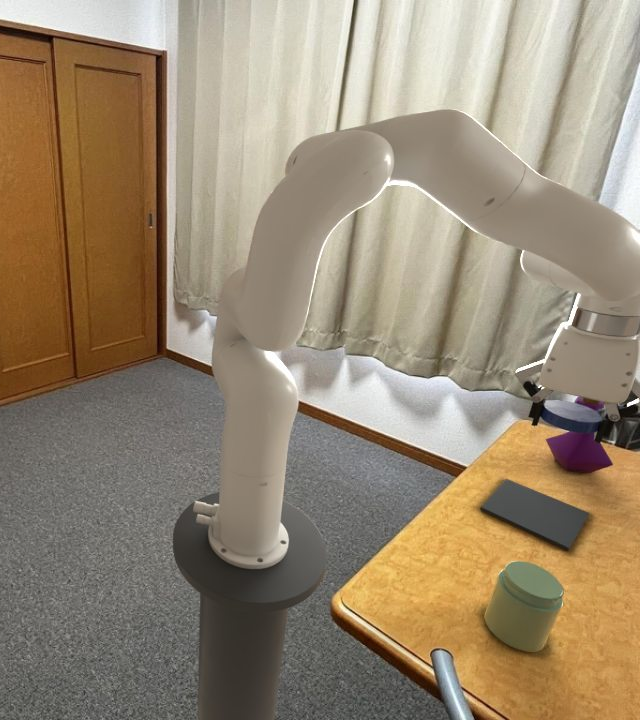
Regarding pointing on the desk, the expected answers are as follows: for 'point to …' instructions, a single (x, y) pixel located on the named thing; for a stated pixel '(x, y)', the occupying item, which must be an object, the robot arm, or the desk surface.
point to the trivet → (536, 513)
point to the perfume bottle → (580, 447)
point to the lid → (571, 416)
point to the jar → (524, 606)
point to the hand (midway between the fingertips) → (565, 429)
